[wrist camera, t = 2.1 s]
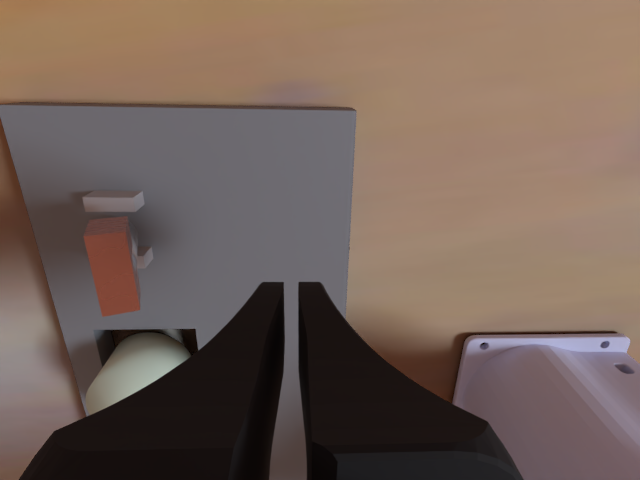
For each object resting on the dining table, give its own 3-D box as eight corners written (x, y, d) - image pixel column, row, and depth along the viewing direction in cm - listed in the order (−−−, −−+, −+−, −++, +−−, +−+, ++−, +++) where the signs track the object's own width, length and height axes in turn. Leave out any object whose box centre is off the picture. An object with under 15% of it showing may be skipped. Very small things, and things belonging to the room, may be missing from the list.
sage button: (189, 331, 20) (173, 369, 17) (198, 395, 22) (184, 438, 19) (105, 332, 20) (76, 371, 17) (120, 396, 21) (95, 440, 19)
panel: (352, 107, 17) (359, 113, 15) (334, 479, 27) (337, 518, 24) (22, 102, 17) (-24, 106, 14) (122, 485, 26) (105, 525, 24)
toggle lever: (132, 194, 17) (128, 231, 13) (143, 259, 18) (143, 309, 14) (94, 198, 16) (79, 236, 12) (108, 263, 17) (99, 317, 13)
